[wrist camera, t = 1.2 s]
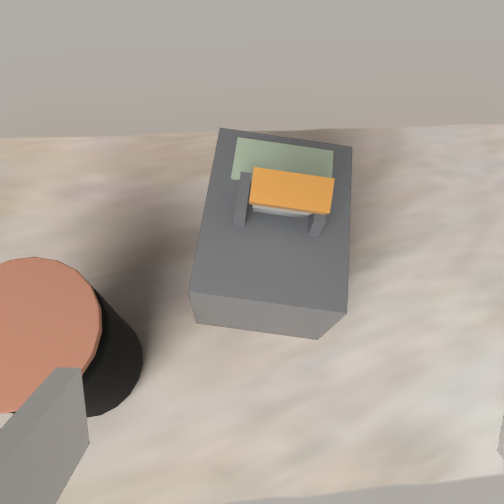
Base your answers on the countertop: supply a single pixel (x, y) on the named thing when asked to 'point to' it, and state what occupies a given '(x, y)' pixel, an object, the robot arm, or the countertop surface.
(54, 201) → the countertop surface
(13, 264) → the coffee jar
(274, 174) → the lever
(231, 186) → the box
